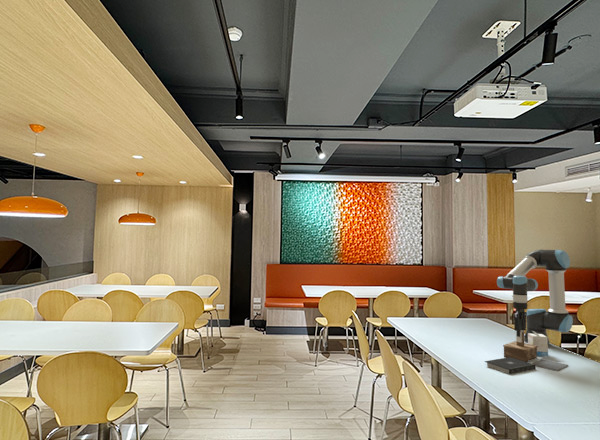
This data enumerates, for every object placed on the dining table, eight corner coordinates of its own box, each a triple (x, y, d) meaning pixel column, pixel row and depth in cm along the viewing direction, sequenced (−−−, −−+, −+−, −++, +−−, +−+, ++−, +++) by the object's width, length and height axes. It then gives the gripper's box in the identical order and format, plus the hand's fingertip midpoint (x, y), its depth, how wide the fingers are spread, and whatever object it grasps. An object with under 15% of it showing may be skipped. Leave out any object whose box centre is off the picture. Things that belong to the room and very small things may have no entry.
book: (509, 375, 195) (509, 369, 195) (484, 366, 208) (484, 361, 208) (535, 370, 204) (535, 364, 205) (509, 362, 218) (509, 357, 218)
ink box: (548, 356, 230) (548, 334, 231) (533, 355, 232) (532, 333, 232) (542, 352, 238) (542, 331, 239) (527, 351, 240) (527, 330, 241)
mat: (542, 359, 222) (542, 358, 222) (568, 365, 212) (568, 364, 212) (531, 364, 212) (531, 363, 212) (558, 371, 202) (558, 370, 202)
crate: (515, 352, 236) (515, 343, 236) (536, 357, 226) (536, 347, 227) (503, 357, 226) (503, 346, 226) (525, 362, 216) (525, 351, 217)
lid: (515, 344, 237) (515, 328, 237) (537, 348, 227) (537, 332, 227) (503, 348, 226) (503, 331, 227) (526, 353, 216) (526, 335, 217)
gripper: (519, 300, 236) (519, 338, 235) (507, 302, 226) (507, 342, 225) (532, 301, 230) (532, 341, 229) (521, 303, 220) (521, 345, 219)
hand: (520, 341), depth 227 cm, fingers closed on lid, 3 cm apart
